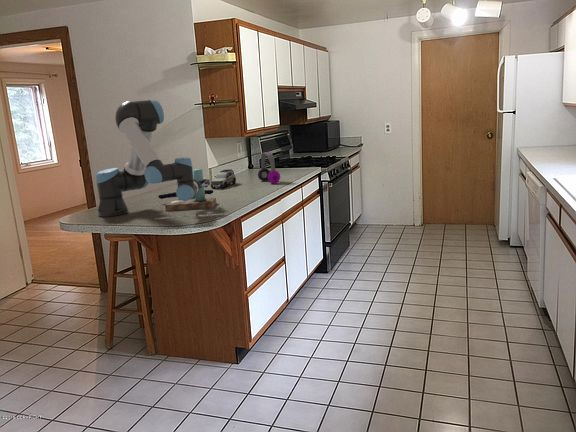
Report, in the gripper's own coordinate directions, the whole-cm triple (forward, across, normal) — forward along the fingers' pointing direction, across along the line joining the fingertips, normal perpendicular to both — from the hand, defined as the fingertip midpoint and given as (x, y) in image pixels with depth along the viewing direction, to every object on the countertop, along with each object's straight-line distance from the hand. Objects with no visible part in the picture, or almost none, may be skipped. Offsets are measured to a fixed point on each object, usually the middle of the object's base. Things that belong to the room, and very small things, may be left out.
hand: (200, 180), depth 263 cm
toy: (+23, -14, -15) cm, 31 cm away
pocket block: (-5, -5, -14) cm, 16 cm away
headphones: (+70, +31, -14) cm, 78 cm away
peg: (-5, 0, -10) cm, 11 cm away
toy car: (+66, +1, -15) cm, 68 cm away
